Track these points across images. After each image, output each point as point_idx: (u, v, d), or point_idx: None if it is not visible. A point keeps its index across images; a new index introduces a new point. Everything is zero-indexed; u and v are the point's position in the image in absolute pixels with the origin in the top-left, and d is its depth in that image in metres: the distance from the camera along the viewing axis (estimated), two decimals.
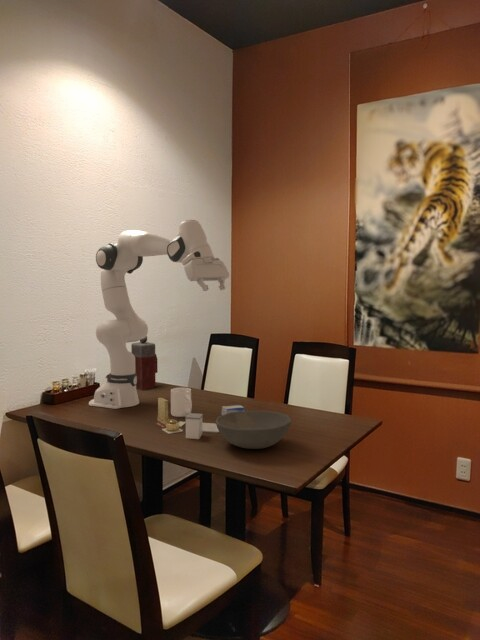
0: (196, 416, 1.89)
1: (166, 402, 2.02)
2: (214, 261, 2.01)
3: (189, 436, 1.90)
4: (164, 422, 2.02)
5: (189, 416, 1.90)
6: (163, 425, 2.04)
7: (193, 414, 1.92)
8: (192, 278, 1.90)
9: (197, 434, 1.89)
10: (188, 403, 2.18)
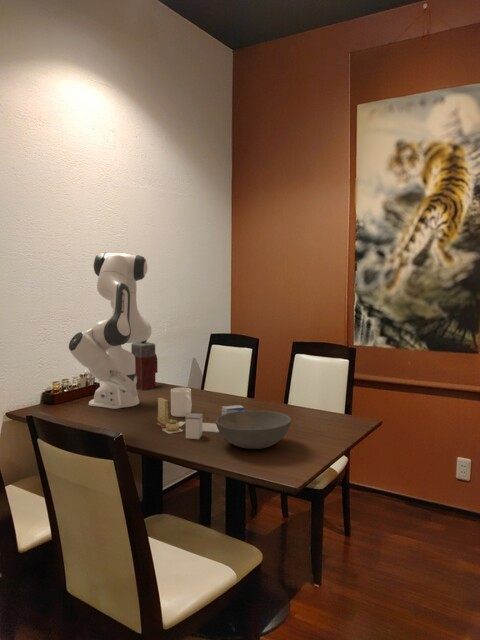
0: (196, 416, 1.89)
1: (166, 402, 2.02)
2: (111, 379, 1.84)
3: (189, 436, 1.90)
4: (164, 422, 2.02)
5: (189, 416, 1.90)
6: (163, 425, 2.04)
7: (193, 414, 1.92)
8: None
9: (197, 434, 1.89)
10: (188, 403, 2.18)
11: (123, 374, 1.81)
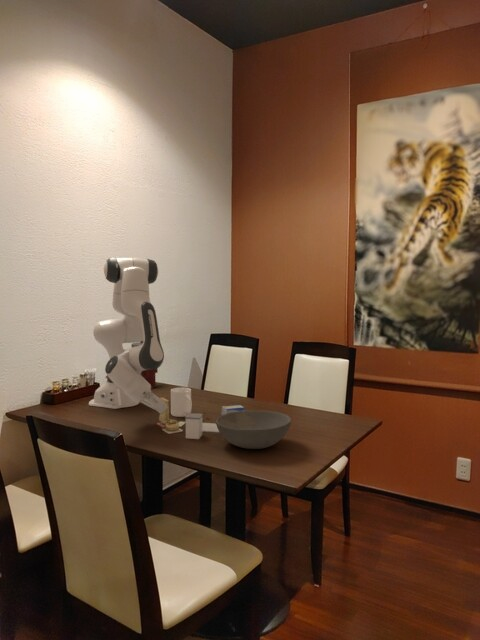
0: (196, 416, 1.89)
1: (167, 402, 2.02)
2: (144, 400, 1.94)
3: (189, 436, 1.90)
4: (165, 422, 2.02)
5: (189, 416, 1.90)
6: (163, 425, 2.04)
7: (193, 414, 1.92)
8: None
9: (197, 434, 1.89)
10: (188, 403, 2.18)
11: (156, 396, 1.91)
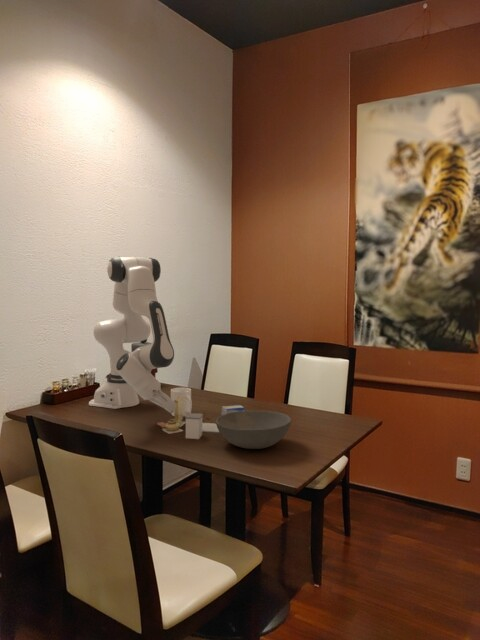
0: (196, 416, 1.89)
1: (176, 402, 2.03)
2: (154, 398, 1.95)
3: (189, 436, 1.90)
4: None
5: (189, 416, 1.90)
6: (163, 425, 2.04)
7: (193, 414, 1.92)
8: None
9: (197, 434, 1.89)
10: (188, 403, 2.18)
11: (165, 394, 1.92)
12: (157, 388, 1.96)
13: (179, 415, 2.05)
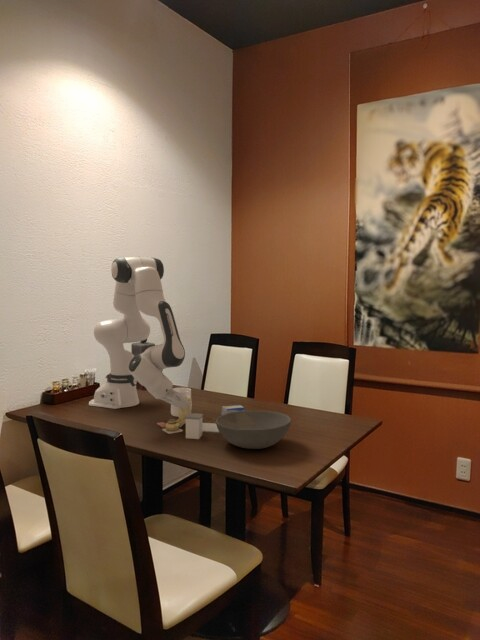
0: (196, 416, 1.89)
1: None
2: (167, 397, 1.99)
3: (189, 436, 1.90)
4: None
5: (189, 416, 1.90)
6: (163, 425, 2.04)
7: (193, 414, 1.92)
8: None
9: (197, 434, 1.89)
10: None
11: (178, 393, 1.96)
12: (169, 387, 1.99)
13: (184, 416, 2.04)
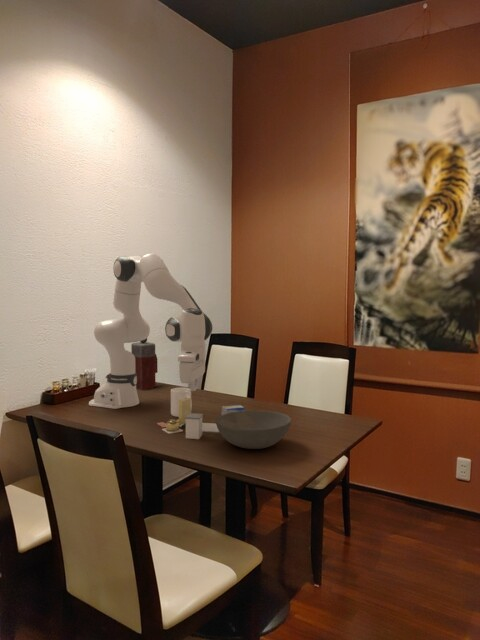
0: (196, 416, 1.89)
1: (180, 402, 2.02)
2: None
3: (189, 436, 1.90)
4: None
5: (189, 416, 1.90)
6: (163, 425, 2.04)
7: (193, 414, 1.92)
8: (185, 382, 1.80)
9: (197, 434, 1.89)
10: None
11: None
12: None
13: (184, 416, 2.04)
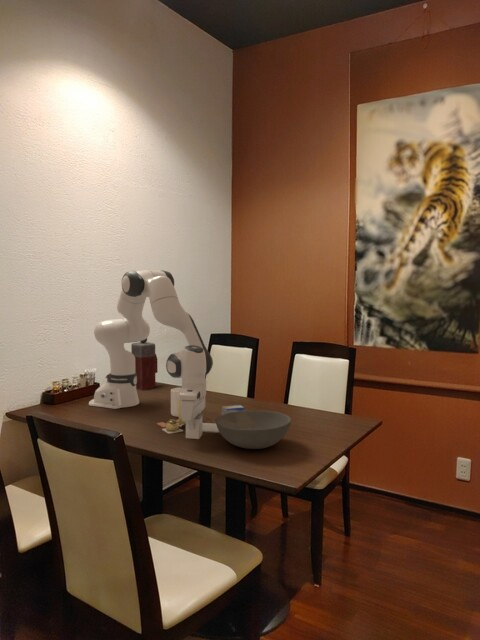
0: None
1: (180, 402, 2.02)
2: None
3: (189, 436, 1.90)
4: None
5: None
6: (163, 425, 2.04)
7: None
8: (187, 421, 1.82)
9: (197, 434, 1.89)
10: None
11: None
12: None
13: None
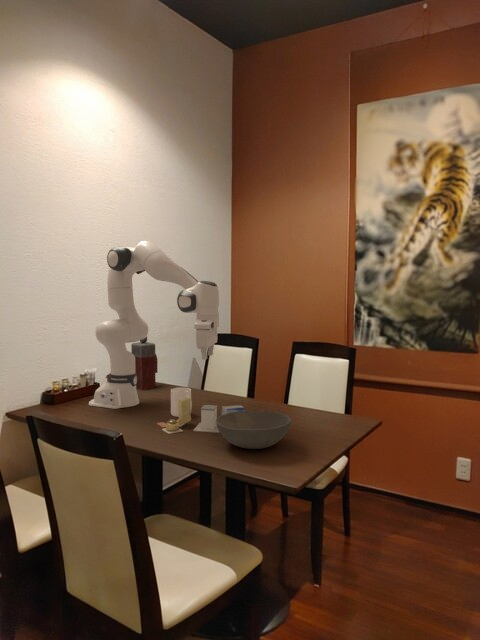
0: (211, 408, 2.00)
1: (180, 402, 2.02)
2: None
3: (204, 426, 2.00)
4: None
5: (204, 407, 2.00)
6: (163, 425, 2.04)
7: (208, 406, 2.03)
8: (201, 348, 1.95)
9: (212, 424, 1.99)
10: None
11: None
12: None
13: (184, 416, 2.04)
